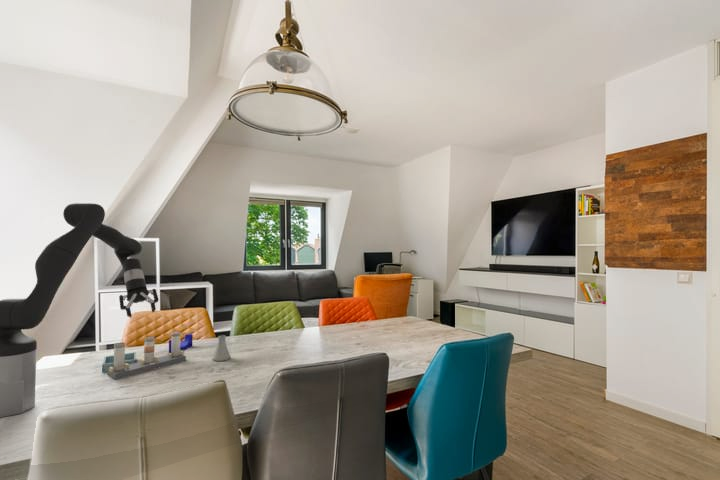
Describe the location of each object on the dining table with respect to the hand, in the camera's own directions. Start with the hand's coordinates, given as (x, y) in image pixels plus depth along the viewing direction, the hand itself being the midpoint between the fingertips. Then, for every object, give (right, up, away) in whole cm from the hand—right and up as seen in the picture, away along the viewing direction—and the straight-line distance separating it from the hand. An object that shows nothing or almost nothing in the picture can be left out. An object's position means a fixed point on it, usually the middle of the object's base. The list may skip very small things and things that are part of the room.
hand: (142, 314), depth 147 cm
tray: (-4, -20, -8) cm, 21 cm away
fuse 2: (+16, -18, -2) cm, 24 cm away
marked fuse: (+9, -17, -10) cm, 22 cm away
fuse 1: (+3, -17, -19) cm, 26 cm away
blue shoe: (+8, -21, +15) cm, 27 cm away
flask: (+35, -20, 0) cm, 40 cm away
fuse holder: (+9, -19, -10) cm, 24 cm away
